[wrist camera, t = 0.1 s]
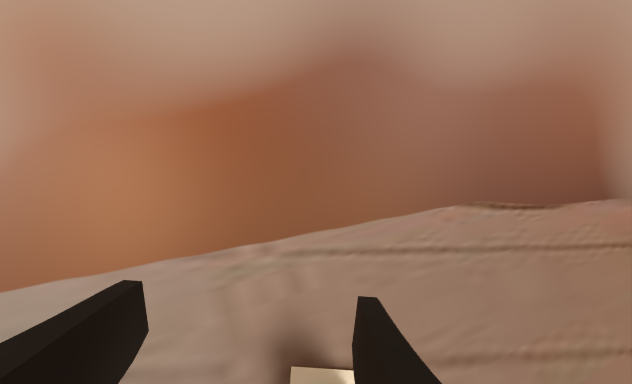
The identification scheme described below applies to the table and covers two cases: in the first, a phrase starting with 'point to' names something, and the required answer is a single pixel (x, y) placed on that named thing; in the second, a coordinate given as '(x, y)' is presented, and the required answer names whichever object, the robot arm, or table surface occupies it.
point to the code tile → (320, 376)
